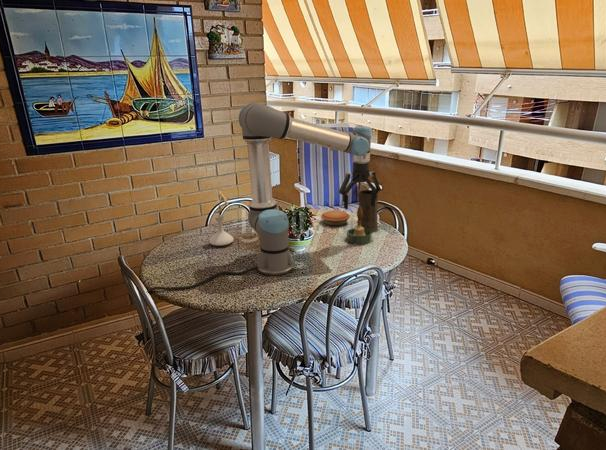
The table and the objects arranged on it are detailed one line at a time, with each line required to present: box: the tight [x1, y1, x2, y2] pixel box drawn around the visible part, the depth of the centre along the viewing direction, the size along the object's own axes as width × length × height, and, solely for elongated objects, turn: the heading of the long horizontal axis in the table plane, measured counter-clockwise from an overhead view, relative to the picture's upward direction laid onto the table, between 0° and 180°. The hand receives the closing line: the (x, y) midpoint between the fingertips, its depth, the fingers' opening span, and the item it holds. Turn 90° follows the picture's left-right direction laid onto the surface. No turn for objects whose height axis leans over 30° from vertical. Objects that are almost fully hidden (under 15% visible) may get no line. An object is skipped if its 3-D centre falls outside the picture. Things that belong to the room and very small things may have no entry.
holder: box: [346, 227, 373, 245], centre depth 195 cm, size 12×12×4 cm
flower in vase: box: [209, 190, 235, 247], centre depth 191 cm, size 13×11×25 cm
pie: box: [320, 210, 351, 226], centre depth 219 cm, size 16×16×5 cm
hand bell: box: [353, 205, 366, 236], centre depth 193 cm, size 8×8×16 cm
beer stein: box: [356, 189, 379, 233], centre depth 209 cm, size 15×11×20 cm
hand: (359, 207), depth 190 cm, fingers open, 13 cm apart
